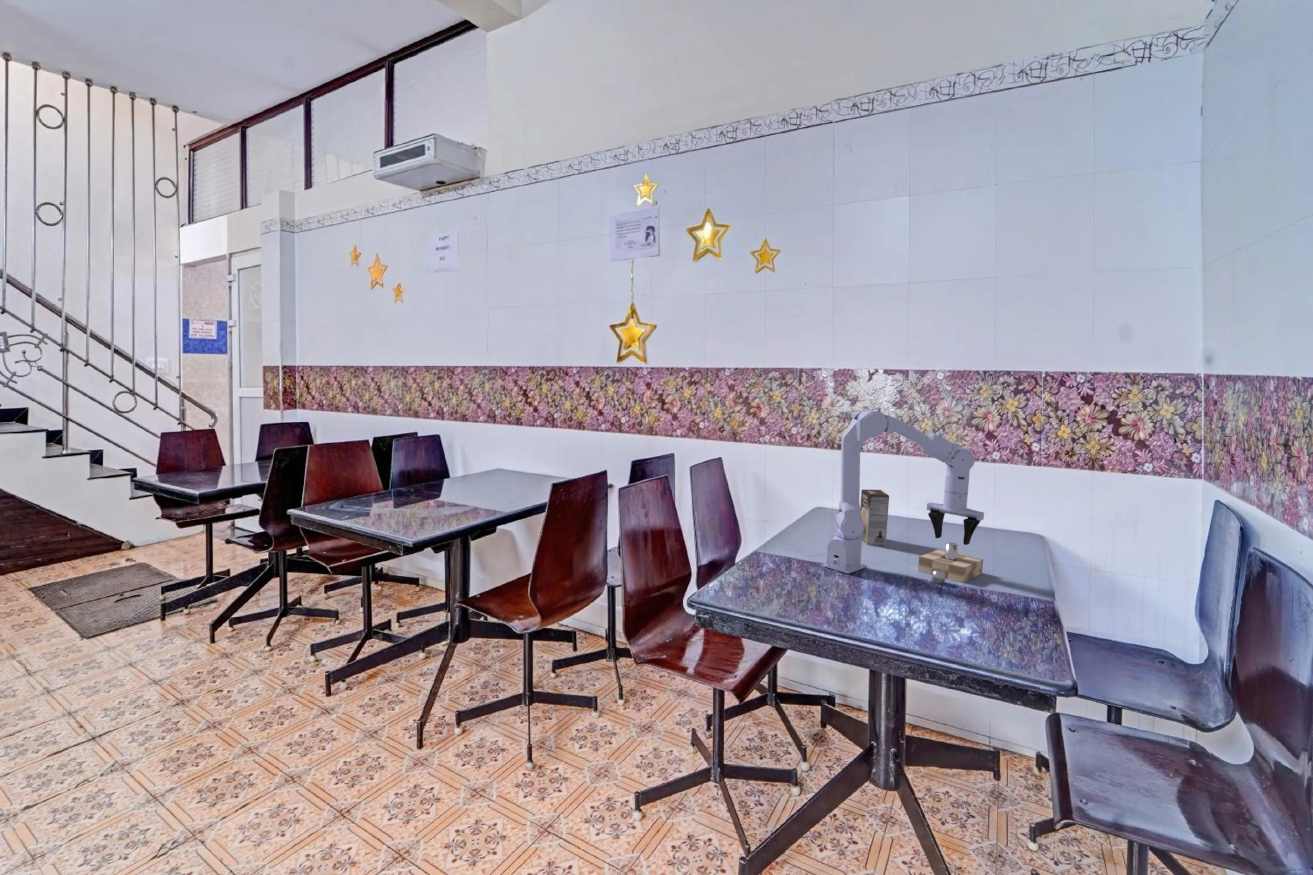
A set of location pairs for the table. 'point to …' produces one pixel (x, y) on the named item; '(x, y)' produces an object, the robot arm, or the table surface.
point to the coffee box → (874, 516)
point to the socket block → (951, 565)
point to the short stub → (938, 577)
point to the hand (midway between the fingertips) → (952, 540)
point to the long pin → (951, 551)
